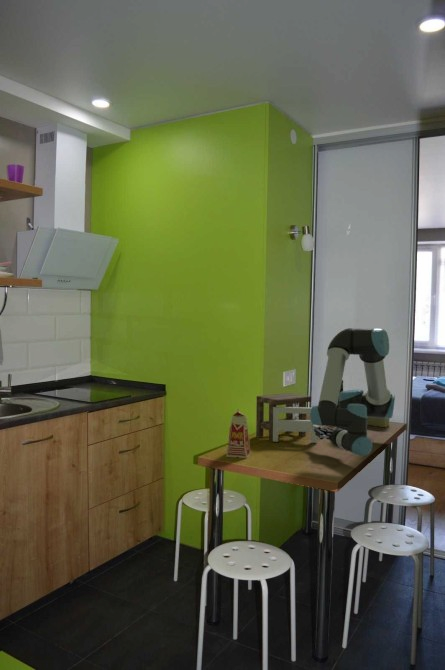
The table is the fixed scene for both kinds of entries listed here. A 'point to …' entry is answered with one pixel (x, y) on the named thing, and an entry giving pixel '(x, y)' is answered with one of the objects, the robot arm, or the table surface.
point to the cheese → (377, 422)
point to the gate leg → (292, 422)
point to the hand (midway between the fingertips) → (313, 428)
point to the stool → (275, 400)
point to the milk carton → (238, 437)
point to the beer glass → (296, 415)
